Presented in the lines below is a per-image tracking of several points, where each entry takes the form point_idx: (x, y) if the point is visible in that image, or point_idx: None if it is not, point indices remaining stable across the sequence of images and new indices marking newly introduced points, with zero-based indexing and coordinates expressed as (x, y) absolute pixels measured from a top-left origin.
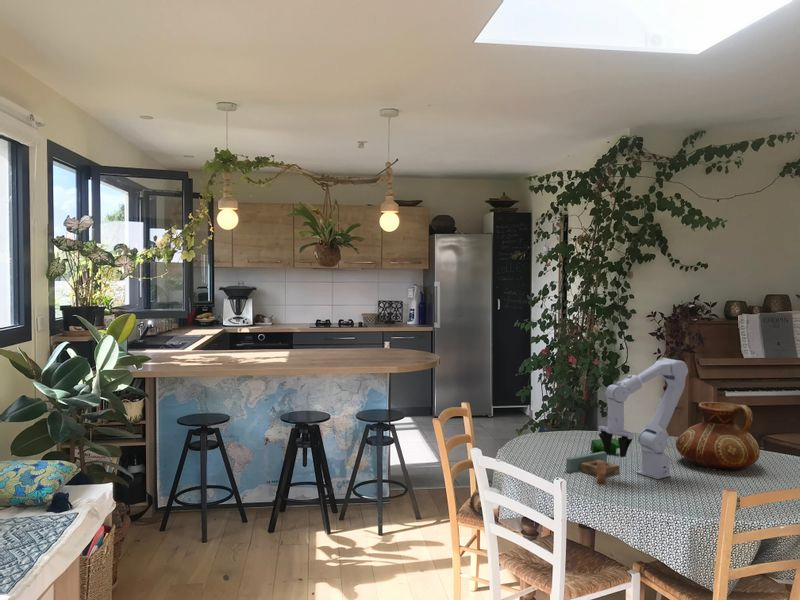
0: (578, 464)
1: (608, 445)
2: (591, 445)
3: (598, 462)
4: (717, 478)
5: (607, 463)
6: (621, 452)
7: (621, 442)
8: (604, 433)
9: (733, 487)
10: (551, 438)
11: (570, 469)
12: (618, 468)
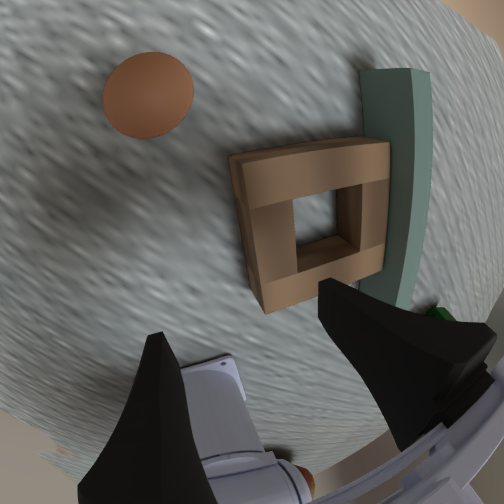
0: (387, 131)
1: (353, 341)
2: (450, 316)
3: (168, 71)
4: None
5: (322, 277)
6: (140, 366)
7: (109, 469)
8: (458, 394)
9: (68, 455)
10: (501, 268)
11: (369, 71)
12: (259, 301)
